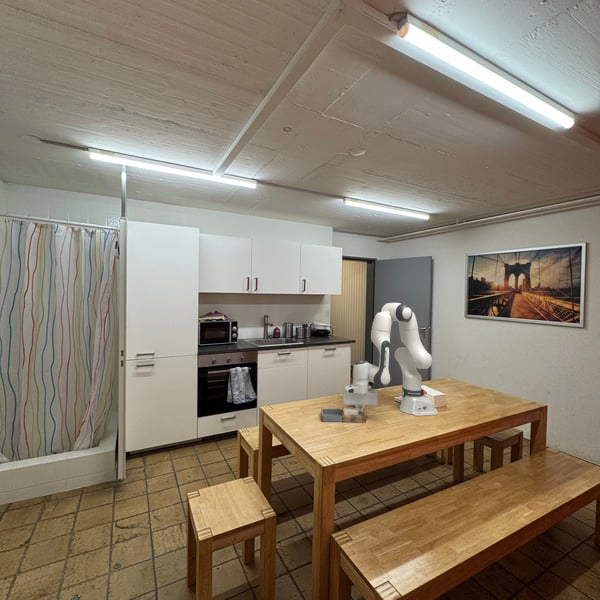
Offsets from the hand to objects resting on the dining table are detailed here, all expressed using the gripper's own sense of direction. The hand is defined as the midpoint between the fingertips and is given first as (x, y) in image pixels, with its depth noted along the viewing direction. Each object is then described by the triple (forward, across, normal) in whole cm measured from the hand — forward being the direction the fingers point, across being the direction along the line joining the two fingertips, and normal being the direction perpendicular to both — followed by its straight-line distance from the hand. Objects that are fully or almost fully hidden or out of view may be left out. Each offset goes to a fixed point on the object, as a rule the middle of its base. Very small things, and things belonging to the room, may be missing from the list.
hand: (359, 411), depth 182 cm
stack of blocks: (+4, -6, -27) cm, 28 cm away
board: (+4, +4, 0) cm, 6 cm away
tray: (+4, +17, 0) cm, 17 cm away
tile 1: (+1, +8, 0) cm, 8 cm away
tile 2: (+1, +4, 0) cm, 4 cm away
